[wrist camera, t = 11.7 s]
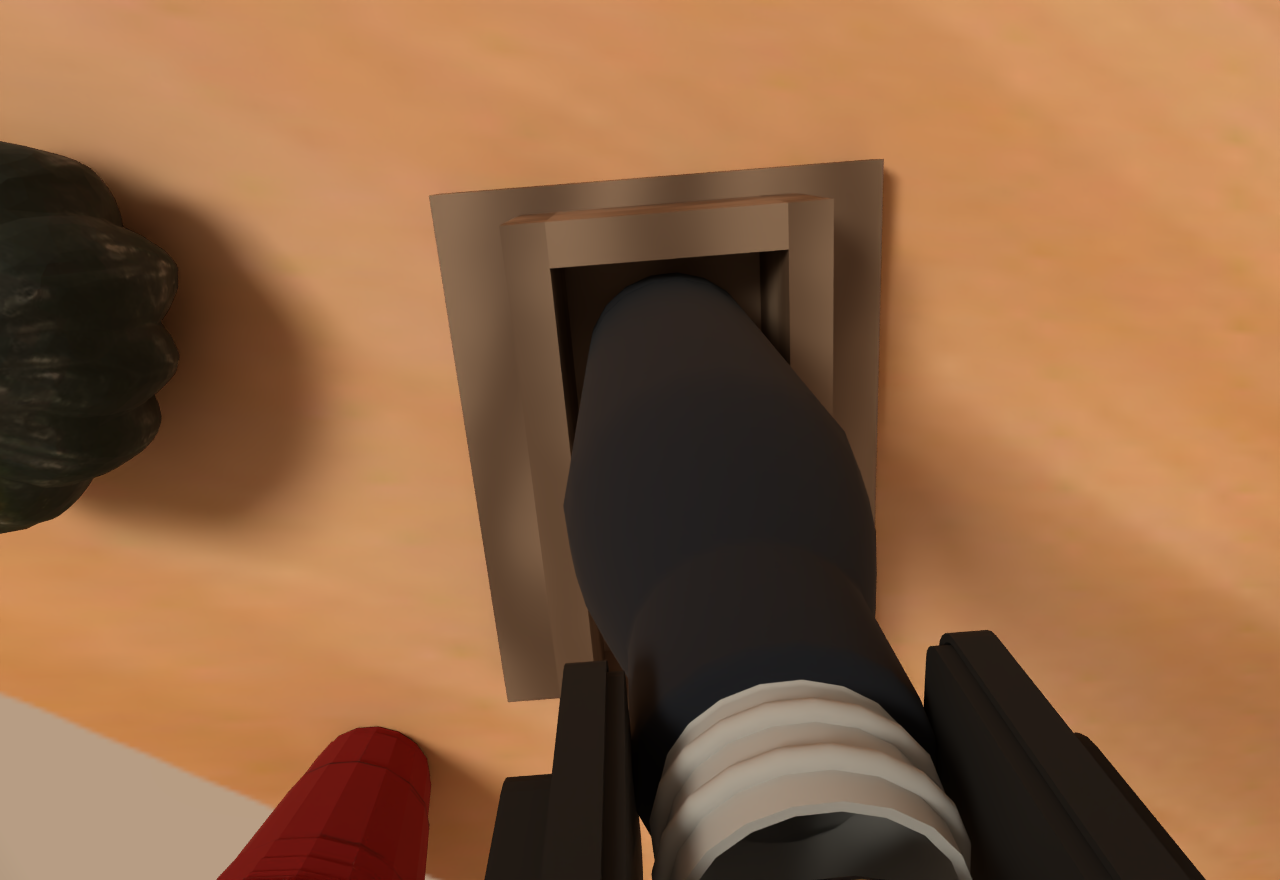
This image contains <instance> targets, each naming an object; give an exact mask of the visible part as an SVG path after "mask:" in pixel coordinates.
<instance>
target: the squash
mask: <svg viewBox="0 0 1280 880" xmlns="http://www.w3.org/2000/svg"><path fill="white" fill-rule="evenodd" d="M177 289H178V268H177V265H176V263H175V262H174V260H173V259H172V258H171V257H170V256H169V255H168V254H167V253H166V252H165V251H164V250H163V249H161V248H160V247H158V246H157V245H155V244H153V243H152V242H150V241H149V240H147V239H146V238H144V237H143V236H141V235H139V234H137V233H135V232H133V231H131V230H128V229H126V228H123V225H122V219H121V214H120V211H119V208H118V206H117V204H116V202H115V199H114V197H113V195H112V194H111V192H110V190H109V189H108V187H107V186H106V184H105V183H104V182H103V181H102V179H101V178H100V177H99V176H98V175H97V174H96V173H95V172H94V171H93V170H92V169H91V168H89V167H88V166H86V165H84V164H82V163H80V162H77V161H75V160H73V159H70V158H67V157H65V156H61V155H58V154H54V153H50V152H46V151H42V150H38V149H34V148H30V147H27V146H22V145H17V144H12V143H7V142H2V141H0V534H1V533H7V532H12V531H18V530H23V529H27V528H29V527H31V526H33V525H36V524H38V523H41V522H44V521H48V520H51V519H54V518H56V517H57V516H59V515H61V514H62V513H63V512H64V511H66V510H67V509H68V508H69V507H70V506H71V505H72V504H73V503H74V502H75V501H76V500H77V499H78V498H79V497H80V496H81V495H82V494H83V492H84V491H85V490H86V488H87V487H88V486H89V484H90V483H91V481H92V479H93V478H94V477H97V476H100V475H103V474H105V473H107V472H109V471H111V470H113V469H115V468H117V467H119V466H120V465H122V464H123V463H125V462H127V461H128V460H130V459H131V458H133V457H134V456H136V455H137V454H138V453H140V452H141V451H143V450H144V449H145V448H146V447H147V446H148V445H149V443H150V442H151V441H152V440H153V439H154V437H155V436H156V434H157V433H158V431H159V427H160V424H161V412H160V408H159V404H158V402H157V399H156V397H155V394H156V393H157V392H158V391H159V390H160V389H161V388H162V387H163V386H164V385H165V384H166V383H167V382H168V381H169V380H170V379H171V378H172V377H173V375H174V374H175V372H176V370H177V366H178V361H179V351H178V349H177V347H176V345H175V343H174V341H173V339H172V337H171V335H170V334H169V333H168V331H167V330H166V329H165V328H164V326H163V325H162V323H161V320H162V319H163V317H164V316H165V315H166V313H167V312H168V310H169V308H170V306H171V304H172V301H173V299H174V296H175V294H176V291H177Z"/></svg>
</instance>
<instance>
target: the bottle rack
mask: <svg viewBox="0 0 1280 880" xmlns="http://www.w3.org/2000/svg"><path fill="white" fill-rule="evenodd" d="M883 165H884V159H870V160H858V161H845V162H833V163H820V164H808V165H795V166H783V167H770V168H758V169H746V170H733V171H721V172H708V173H696V174H683V175H671V176H658V177H646V178H633V179H621V180H608V181H596V182H583V183H571V184H558V185H546V186H533V187H521V188H508V189H496V190H483V191H471V192H458V193H446V194H436V195H430V196H429V199H430V206H431V212H432V218H433V225H434V231H435V238H436V244H437V251H438V257H439V263H440V270H441V276H442V283H443V289H444V295H445V302H446V308H447V315H448V321H449V327H450V334H451V340H452V347H453V353H454V359H455V366H456V372H457V379H458V385H459V392H460V398H461V404H462V411H463V417H464V424H465V430H466V436H467V443H468V449H469V456H470V462H471V468H472V475H473V481H474V488H475V494H476V501H477V507H478V513H479V520H480V526H481V533H482V539H483V545H484V552H485V558H486V565H487V571H488V577H489V584H490V590H491V597H492V603H493V609H494V616H495V622H496V629H497V635H498V642H499V648H500V654H501V661H502V667H503V674H504V680H505V686H506V693H507V699H508V702H516V701H528V700H541V699H554V698H560V696H561V687H562V678H563V669H564V665H565V663H576V662H589V661H602V660H607V662H608V667H609V672H611V671H623V670H622V668H621V666H620V665H619V663H618V661H617V660H616V658H615V656H614V655H613V653H612V651H611V650H610V648H609V646H608V645H607V643H606V641H605V640H604V638H603V636H602V634H601V632H600V631H599V629H598V627H597V625H596V623H595V621H594V620H593V618H592V616H591V614H590V612H589V611H588V609H587V607H586V605H585V602H584V598H583V595H582V592H581V589H580V586H579V583H578V580H577V577H576V574H575V569H574V565H573V560H572V556H571V551H570V546H569V539H568V533H567V527H566V521H565V514H564V508H563V504H564V498H565V492H566V486H567V480H568V474H569V468H570V462H571V456H572V450H573V444H574V438H575V432H576V426H577V420H578V414H579V408H580V402H581V396H582V390H583V384H584V378H585V372H586V366H587V360H588V354H589V348H590V343H591V338H592V332H593V328H594V326H595V324H596V322H597V321H598V319H599V317H600V315H601V313H602V312H603V310H604V308H605V306H606V305H607V304H608V303H609V302H610V301H611V300H612V299H613V298H614V297H615V296H616V295H618V294H619V293H620V292H621V291H622V290H623V289H624V288H625V287H627V286H629V285H631V284H633V283H635V282H637V281H640V280H642V279H644V278H646V277H648V276H650V275H659V274H667V273H676V272H678V273H683V274H688V275H693V276H698V277H703V278H705V279H707V280H709V281H710V282H712V283H714V284H715V285H717V286H719V287H721V288H722V289H724V290H726V291H727V292H728V293H729V294H730V295H731V296H732V298H733V299H734V300H735V301H736V302H737V303H738V304H739V306H740V307H741V308H742V309H743V310H744V311H745V313H746V314H747V315H748V316H749V317H750V319H751V320H752V321H753V322H754V323H755V325H756V326H757V327H758V328H759V329H760V330H761V332H762V333H763V334H764V335H765V336H766V338H767V339H768V340H769V341H770V342H771V344H772V345H773V346H774V347H775V348H776V350H777V351H778V352H779V353H780V354H781V356H782V357H783V358H784V359H785V360H786V362H787V363H788V364H789V365H790V366H791V368H792V369H793V370H794V371H795V372H796V374H797V375H798V376H799V377H800V378H801V380H802V381H803V382H804V383H805V384H806V386H807V387H808V388H809V389H810V390H811V392H812V393H813V394H814V395H815V396H816V398H817V399H818V400H819V401H820V402H821V404H822V405H823V406H824V407H825V408H826V410H827V411H828V412H829V413H830V414H831V416H832V417H833V418H834V419H835V420H836V421H837V423H838V424H839V425H840V426H841V427H842V429H843V430H844V431H845V433H846V436H847V438H848V441H849V444H850V446H851V449H852V451H853V454H854V456H855V459H856V462H857V464H858V467H859V469H860V472H861V475H862V478H863V481H864V484H865V487H866V491H867V494H868V497H869V501H870V505H871V510H872V515H873V520H874V525H875V500H876V458H877V417H878V375H879V333H880V291H881V249H882V207H883ZM625 678H626V688H627V698H628V709H629V686H628V678H627V676H626V674H625Z"/></svg>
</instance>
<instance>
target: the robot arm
mask: <svg viewBox="0 0 1280 880" xmlns="http://www.w3.org/2000/svg"><path fill="white" fill-rule="evenodd" d="M924 710H925V712H926V715H927V717H928V719H929V722H930V724H931V727H932V729H933V732H934V734H935V738H936V772H937V774H938V776H939V779H940V781H941V784H942V786H943V789H944V791H945V794H946V795H947V796H948V797H949V798H950V799H951V800H952V801H953V802H954V803H955V805H956V807H957V810H958V812H959V815H960V817H961V819H962V822H963V824H964V827H965V829H966V832H967V834H968V837H969V839H970V842H971V866H970V875H971V878H972V880H1206V879H1205V878H1204V877H1203V876H1202V874H1201V873H1200V872H1199V871H1198V870H1197V868H1196V867H1195V866H1194V865H1193V863H1192V862H1191V861H1190V860H1189V859H1188V857H1187V856H1186V855H1185V854H1184V852H1183V851H1182V850H1181V849H1180V848H1179V846H1178V845H1177V844H1176V843H1175V841H1174V840H1173V839H1172V838H1171V837H1170V835H1169V834H1168V833H1167V832H1166V830H1165V829H1164V828H1163V827H1162V826H1161V824H1160V823H1159V822H1158V821H1157V819H1156V818H1155V817H1154V816H1153V814H1152V813H1151V812H1150V811H1149V810H1148V808H1147V807H1146V806H1145V805H1144V803H1143V802H1142V801H1141V800H1140V799H1139V797H1138V796H1137V795H1136V794H1135V792H1134V791H1133V790H1132V789H1131V788H1130V786H1129V785H1128V784H1127V783H1126V781H1125V780H1124V779H1123V778H1122V777H1121V775H1120V774H1119V773H1118V772H1117V770H1116V769H1115V768H1114V767H1113V766H1112V764H1111V763H1110V762H1109V761H1108V759H1107V758H1106V757H1105V756H1104V754H1103V753H1102V752H1101V751H1100V750H1099V748H1098V747H1097V746H1096V745H1095V744H1094V743H1093V742H1092V741H1091V740H1090V739H1089V738H1088V737H1087V736H1085V735H1082V734H1080V733H1073V732H1072V730H1071V729H1070V728H1069V727H1068V725H1067V724H1066V723H1065V722H1064V720H1063V719H1062V718H1061V717H1060V715H1059V714H1058V713H1057V712H1056V710H1055V709H1054V708H1053V707H1052V705H1051V704H1050V703H1049V702H1048V700H1047V699H1046V698H1045V696H1044V695H1043V694H1042V693H1041V691H1040V690H1039V689H1038V688H1037V686H1036V685H1035V684H1034V683H1033V681H1032V680H1031V679H1030V678H1029V676H1028V675H1027V674H1026V673H1025V671H1024V670H1023V669H1022V668H1021V666H1020V665H1019V664H1018V663H1017V661H1016V660H1015V659H1014V657H1013V656H1012V655H1011V654H1010V652H1009V651H1008V650H1007V649H1006V647H1005V646H1004V645H1003V644H1002V642H1001V641H1000V640H999V639H998V637H997V636H996V635H995V634H994V633H993V632H992V631H989V630H981V631H969V632H956V633H945V634H944V635H942V637H941V639H940V643H939V646H930V647H929V648H928V650H927V655H926V671H925V691H924ZM485 880H643V864H642V846H641V833H640V823H639V815H638V813H637V810H636V802H635V792H634V782H633V772H632V744H631V729H630V719H629V709H628V698H627V688H626V678H625V671H624V670H623V671H611V672H609V667H608V662H607V660H602V661H589V662H576V663H565V665H564V669H563V678H562V687H561V696H560V705H559V715H558V724H557V733H556V742H555V751H554V760H553V769H552V774H544V775H532V776H519V777H507V778H506V779H505V781H504V783H503V786H502V790H501V795H500V800H499V805H498V811H497V816H496V821H495V827H494V832H493V837H492V843H491V848H490V853H489V859H488V864H487V869H486V875H485Z"/></svg>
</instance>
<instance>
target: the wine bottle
mask: <svg viewBox="0 0 1280 880" xmlns="http://www.w3.org/2000/svg"><path fill="white" fill-rule="evenodd" d="M563 508H564V514H565V521H566V527H567V533H568V539H569V546H570V551H571V556H572V560H573V565H574V569H575V574H576V577H577V580H578V583H579V586H580V589H581V592H582V595H583V598H584V602H585V605H586V607H587V609H588V611H589V612H590V614H591V616H592V618H593V620H594V621H595V623H596V625H597V627H598V629H599V631H600V632H601V634H602V636H603V638H604V640H605V641H606V643H607V645H608V646H609V648H610V650H611V651H612V653H613V655H614V656H615V658H616V660H617V661H618V663H619V665H620V666H621V668H622V670H624V671H625V674H626V676H627V678H628V686H629V719H630V729H631V744H632V772H633V782H634V792H635V802H636V810H637V813H638V815H639V816H640V818H641V820H642V822H643V823H644V825H645V827H646V828H647V830H648V832H649V834H650V835H651V838H652V845H653V852H654V859H655V862H654V866H653V869H652V880H972V878H971V875H970V866H971V842H970V839H969V837H968V834H967V832H966V829H965V827H964V824H963V822H962V819H961V817H960V815H959V812H958V810H957V807H956V805H955V803H954V802H953V801H952V800H951V799H950V798H949V797H948V796H947V795H946V794H945V791H944V789H943V786H942V784H941V781H940V779H939V776H938V774H937V772H936V738H935V734H934V732H933V729H932V727H931V724H930V722H929V719H928V717H927V715H926V712H925V710H924V707H923V705H922V702H921V700H920V698H919V696H918V694H917V692H916V690H915V689H914V687H913V685H912V683H911V681H910V680H909V678H908V676H907V674H906V673H905V671H904V669H903V667H902V665H901V664H900V662H899V660H898V658H897V656H896V655H895V653H894V651H893V649H892V648H891V646H890V644H889V642H888V640H887V639H886V637H885V635H884V633H883V631H882V630H881V628H880V626H879V624H878V622H877V621H876V619H875V610H876V576H877V569H876V530H875V525H874V520H873V515H872V510H871V505H870V501H869V497H868V494H867V491H866V487H865V484H864V481H863V478H862V475H861V472H860V469H859V467H858V464H857V462H856V459H855V456H854V454H853V451H852V449H851V446H850V444H849V441H848V438H847V436H846V433H845V431H844V430H843V429H842V427H841V426H840V425H839V424H838V423H837V421H836V420H835V419H834V418H833V417H832V416H831V414H830V413H829V412H828V411H827V410H826V408H825V407H824V406H823V405H822V404H821V402H820V401H819V400H818V399H817V398H816V396H815V395H814V394H813V393H812V392H811V390H810V389H809V388H808V387H807V386H806V384H805V383H804V382H803V381H802V380H801V378H800V377H799V376H798V375H797V374H796V372H795V371H794V370H793V369H792V368H791V366H790V365H789V364H788V363H787V362H786V360H785V359H784V358H783V357H782V356H781V354H780V353H779V352H778V351H777V350H776V348H775V347H774V346H773V345H772V344H771V342H770V341H769V340H768V339H767V338H766V336H765V335H764V334H763V333H762V332H761V330H760V329H759V328H758V327H757V326H756V325H755V323H754V322H753V321H752V320H751V319H750V317H749V316H748V315H747V314H746V313H745V311H744V310H743V309H742V308H741V307H740V306H739V304H738V303H737V302H736V301H735V300H734V299H733V298H732V296H731V295H730V294H729V293H728V292H727V291H726V290H724V289H722V288H721V287H719V286H717V285H715V284H714V283H712V282H710V281H709V280H707V279H705V278H703V277H698V276H693V275H688V274H683V273H678V272H676V273H667V274H659V275H650V276H648V277H646V278H644V279H642V280H640V281H637V282H635V283H633V284H631V285H629V286H627V287H625V288H624V289H623V290H622V291H621V292H620V293H619V294H618V295H616V296H615V297H614V298H613V299H612V300H611V301H610V302H609V303H608V304H607V305H606V306H605V308H604V310H603V312H602V313H601V315H600V317H599V319H598V321H597V322H596V324H595V326H594V328H593V332H592V338H591V343H590V348H589V354H588V360H587V366H586V372H585V378H584V384H583V390H582V396H581V402H580V408H579V414H578V420H577V426H576V432H575V438H574V444H573V450H572V456H571V462H570V468H569V474H568V480H567V486H566V492H565V498H564V504H563Z"/></svg>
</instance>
